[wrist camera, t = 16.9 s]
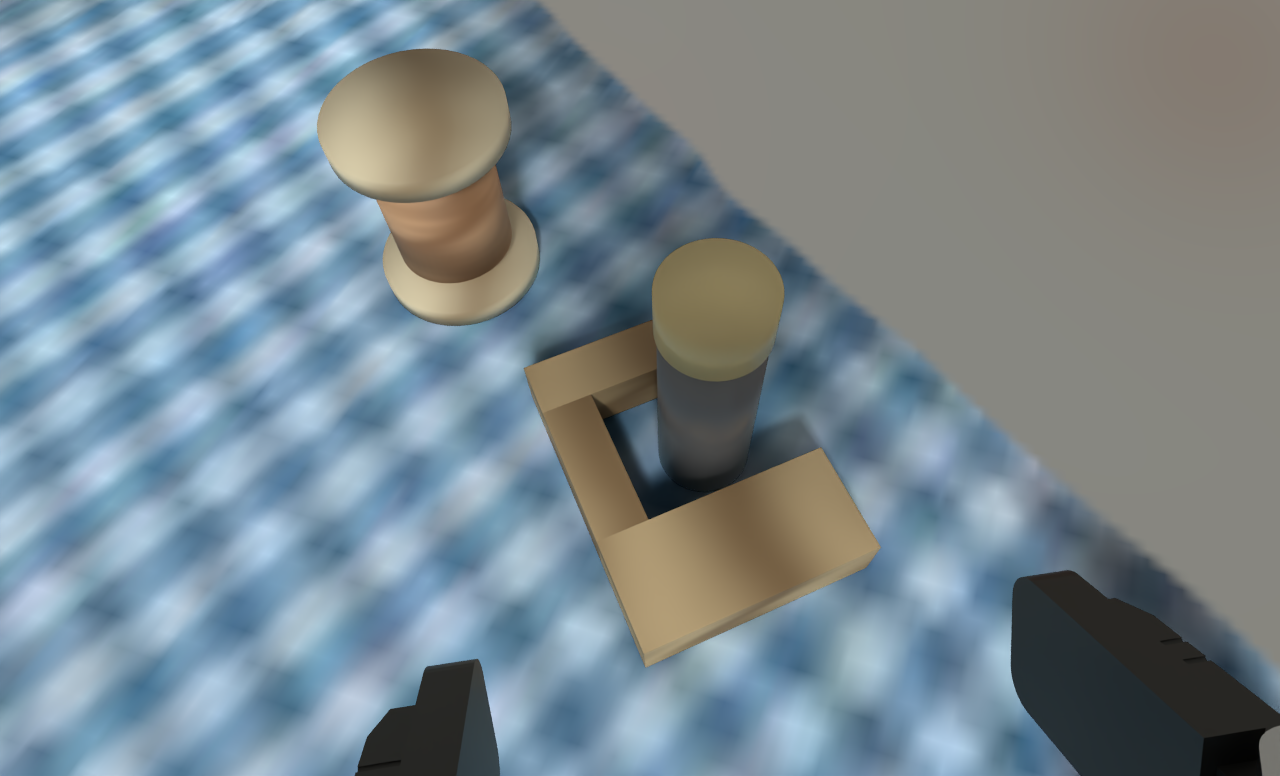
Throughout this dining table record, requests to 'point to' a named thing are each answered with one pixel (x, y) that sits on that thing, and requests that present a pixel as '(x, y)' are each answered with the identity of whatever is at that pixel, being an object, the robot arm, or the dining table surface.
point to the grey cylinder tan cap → (712, 356)
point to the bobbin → (434, 180)
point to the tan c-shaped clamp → (690, 511)
